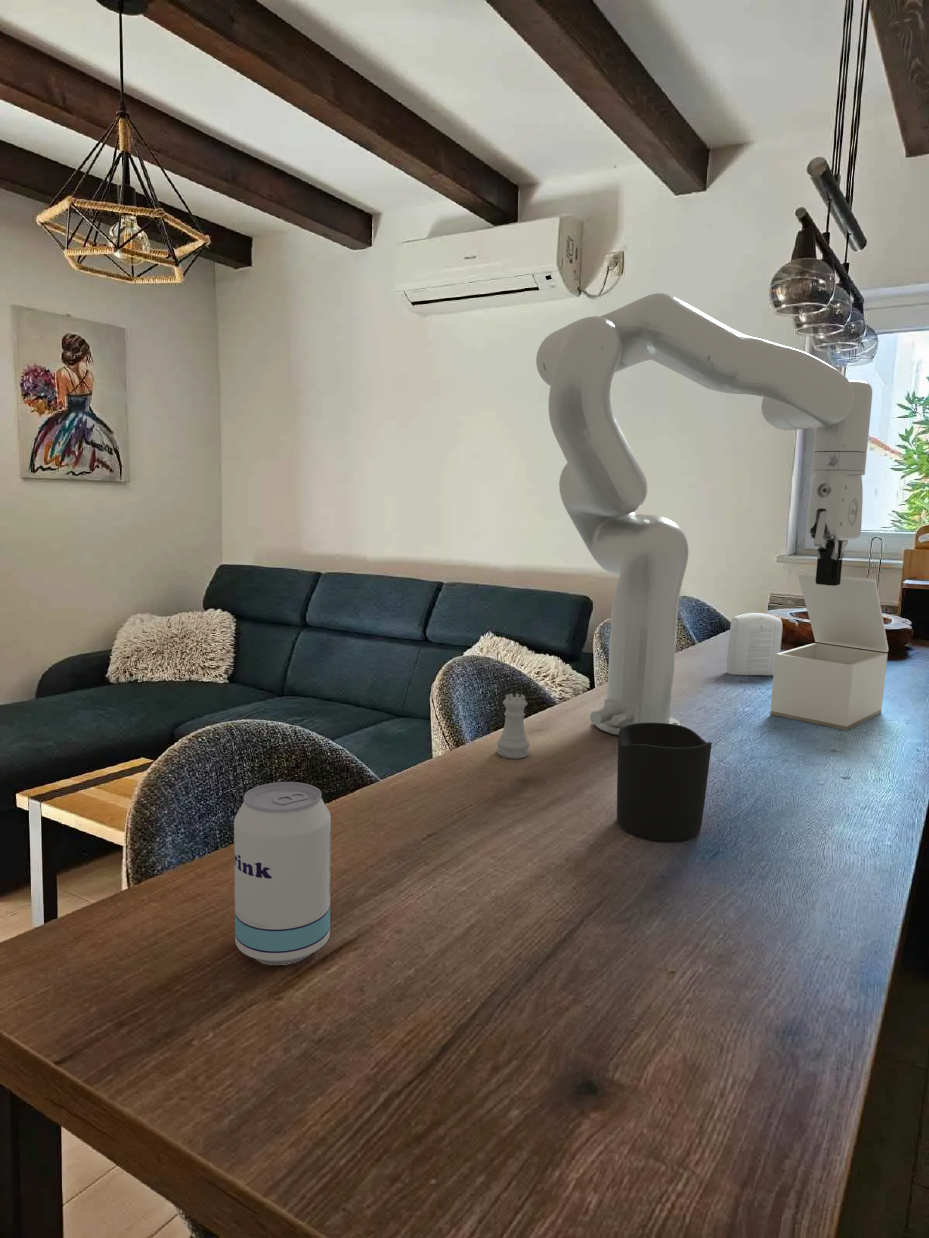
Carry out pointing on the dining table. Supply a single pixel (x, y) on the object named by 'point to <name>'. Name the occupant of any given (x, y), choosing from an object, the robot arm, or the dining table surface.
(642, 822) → the pen holder
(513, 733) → the rook chess piece
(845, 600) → the carton lid
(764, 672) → the photo printer
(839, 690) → the carton
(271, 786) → the beverage can
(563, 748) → the dining table surface
